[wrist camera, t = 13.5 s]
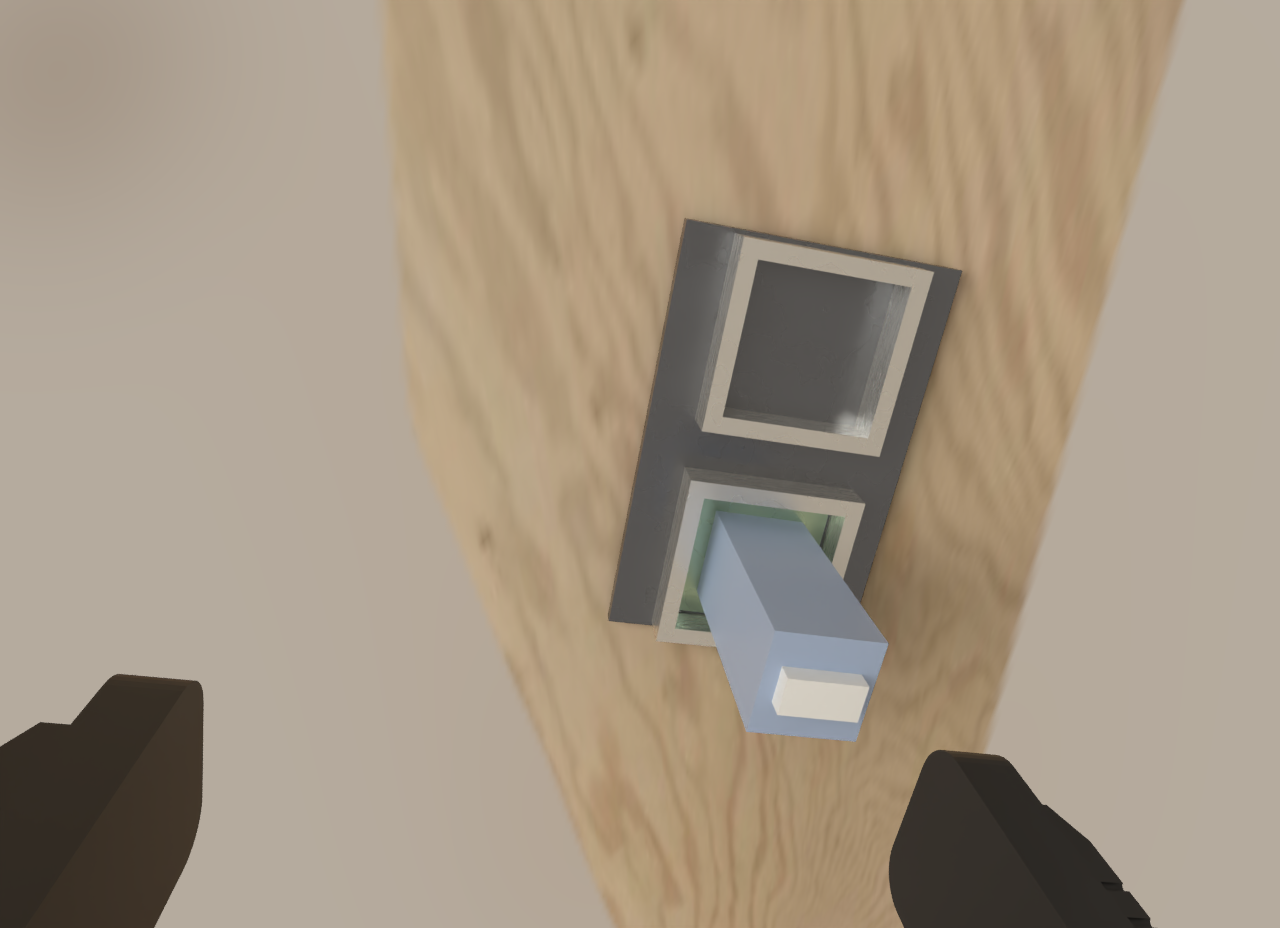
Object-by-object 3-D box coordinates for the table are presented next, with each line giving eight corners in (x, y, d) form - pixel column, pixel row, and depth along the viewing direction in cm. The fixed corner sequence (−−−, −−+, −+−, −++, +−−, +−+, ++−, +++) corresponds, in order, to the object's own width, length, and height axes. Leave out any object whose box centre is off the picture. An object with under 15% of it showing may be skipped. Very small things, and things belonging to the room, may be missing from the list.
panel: (684, 218, 36) (694, 222, 34) (955, 269, 38) (981, 276, 36) (607, 614, 43) (611, 640, 40) (843, 639, 45) (859, 664, 42)
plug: (716, 510, 40) (780, 642, 29) (802, 522, 41) (897, 655, 30) (696, 590, 42) (751, 745, 31) (780, 601, 43) (862, 755, 32)
